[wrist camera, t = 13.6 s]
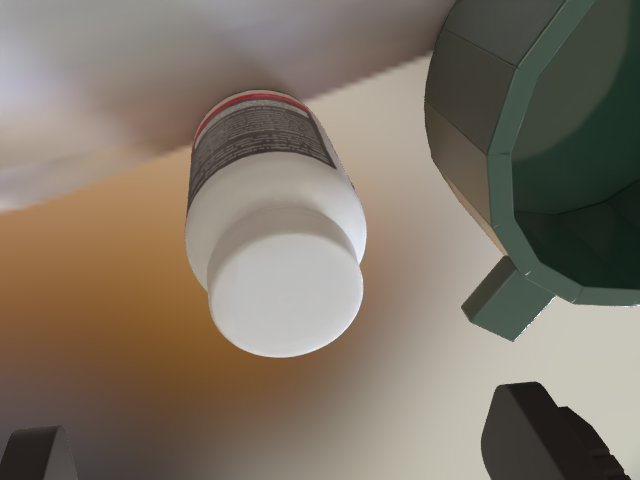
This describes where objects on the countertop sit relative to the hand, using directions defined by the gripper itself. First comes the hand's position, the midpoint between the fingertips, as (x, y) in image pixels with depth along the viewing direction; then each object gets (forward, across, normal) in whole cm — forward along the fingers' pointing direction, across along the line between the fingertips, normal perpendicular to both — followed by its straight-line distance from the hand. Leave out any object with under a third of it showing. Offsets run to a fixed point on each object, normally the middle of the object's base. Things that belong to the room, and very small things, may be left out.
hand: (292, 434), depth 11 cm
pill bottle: (+14, -1, 0) cm, 14 cm away
